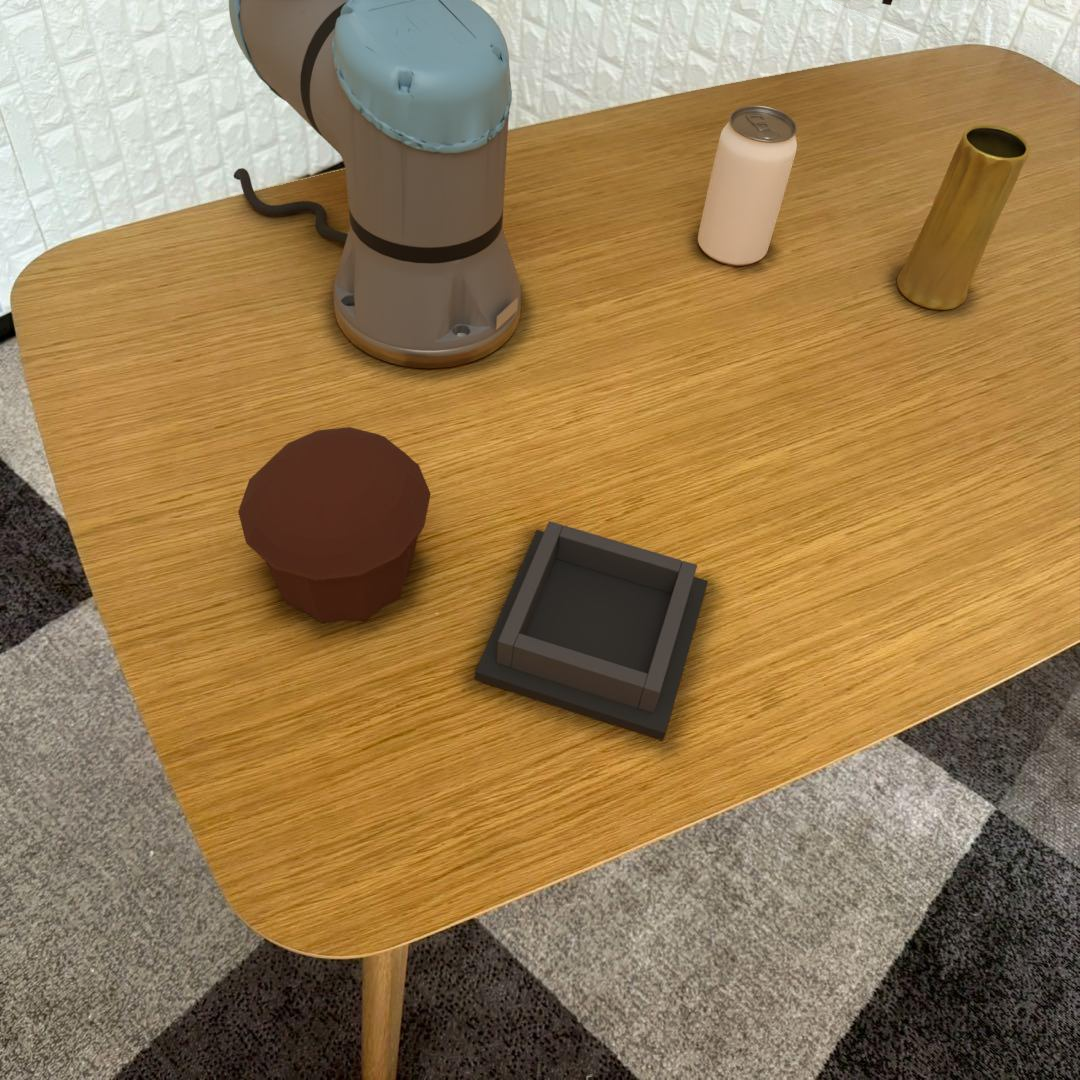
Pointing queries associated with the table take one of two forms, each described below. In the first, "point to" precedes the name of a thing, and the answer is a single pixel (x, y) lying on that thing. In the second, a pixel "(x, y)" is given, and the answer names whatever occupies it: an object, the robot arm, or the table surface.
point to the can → (747, 185)
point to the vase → (963, 217)
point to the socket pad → (596, 629)
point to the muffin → (337, 521)
